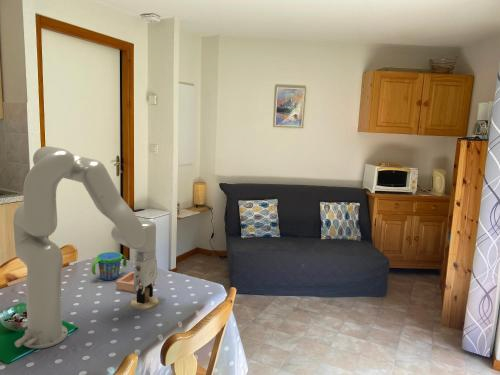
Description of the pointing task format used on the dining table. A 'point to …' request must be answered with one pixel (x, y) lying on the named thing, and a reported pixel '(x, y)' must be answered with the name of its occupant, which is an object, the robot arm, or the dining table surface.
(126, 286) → the dish
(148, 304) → the lid
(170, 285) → the dining table surface
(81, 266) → the dining table surface
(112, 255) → the snack cup
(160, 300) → the mat
